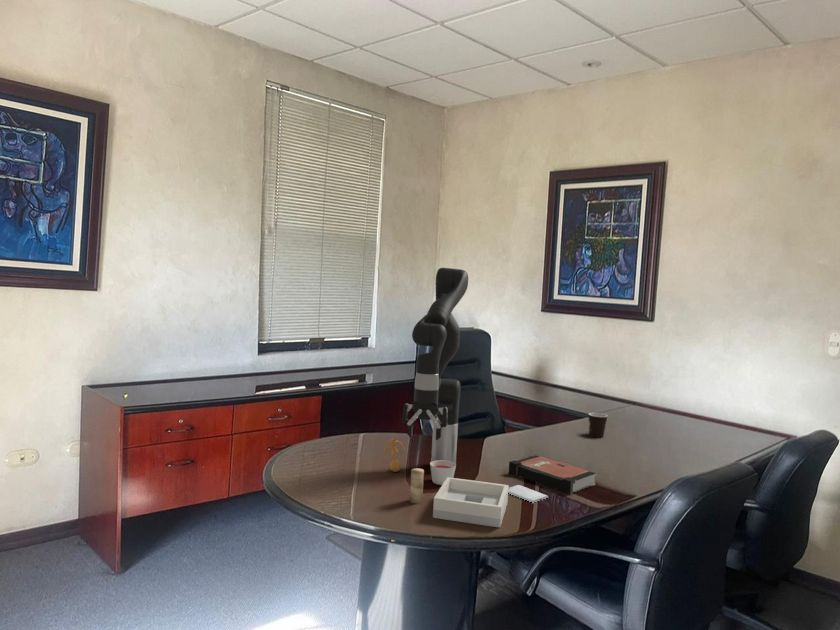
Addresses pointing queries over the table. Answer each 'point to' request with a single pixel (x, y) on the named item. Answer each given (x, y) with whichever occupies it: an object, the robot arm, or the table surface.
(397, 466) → the figurine
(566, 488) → the book
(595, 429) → the coffee mug
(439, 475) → the white cup
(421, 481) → the peg
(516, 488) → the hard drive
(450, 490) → the tray
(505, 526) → the table surface
